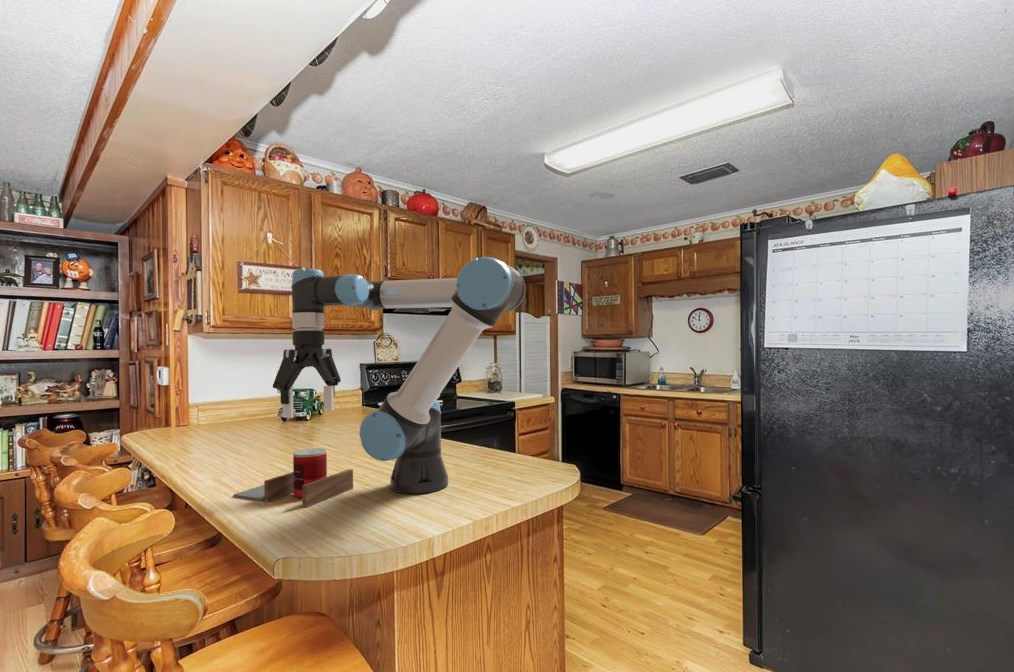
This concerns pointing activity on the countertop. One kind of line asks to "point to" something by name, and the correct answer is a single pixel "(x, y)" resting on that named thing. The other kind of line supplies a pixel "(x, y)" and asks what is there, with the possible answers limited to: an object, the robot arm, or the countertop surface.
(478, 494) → the countertop surface
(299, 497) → the canned food
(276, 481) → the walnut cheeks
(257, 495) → the slate mat
